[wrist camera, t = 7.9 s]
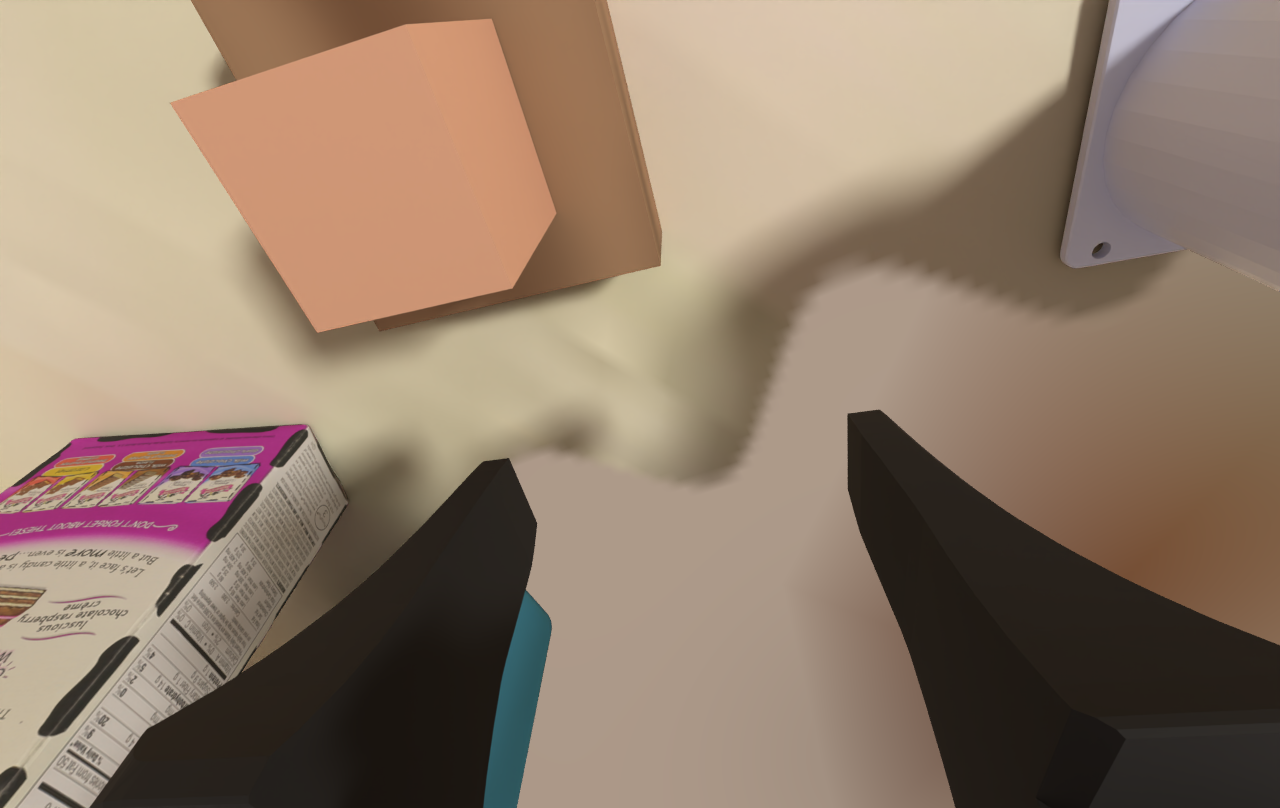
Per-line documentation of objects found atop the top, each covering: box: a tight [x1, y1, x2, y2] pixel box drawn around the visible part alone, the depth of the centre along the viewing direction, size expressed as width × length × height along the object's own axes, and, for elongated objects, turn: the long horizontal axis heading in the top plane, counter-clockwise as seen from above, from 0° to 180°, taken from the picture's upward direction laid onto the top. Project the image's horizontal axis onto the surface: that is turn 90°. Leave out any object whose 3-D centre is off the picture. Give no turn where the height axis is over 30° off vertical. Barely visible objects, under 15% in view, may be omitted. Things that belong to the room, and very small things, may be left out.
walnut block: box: [191, 0, 662, 331], centre depth 16 cm, size 9×9×4 cm
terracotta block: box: [170, 19, 556, 333], centre depth 13 cm, size 4×4×5 cm
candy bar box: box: [0, 424, 348, 808], centre depth 19 cm, size 11×5×16 cm, turn 96°
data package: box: [483, 590, 552, 808], centre depth 26 cm, size 12×4×12 cm, turn 116°
